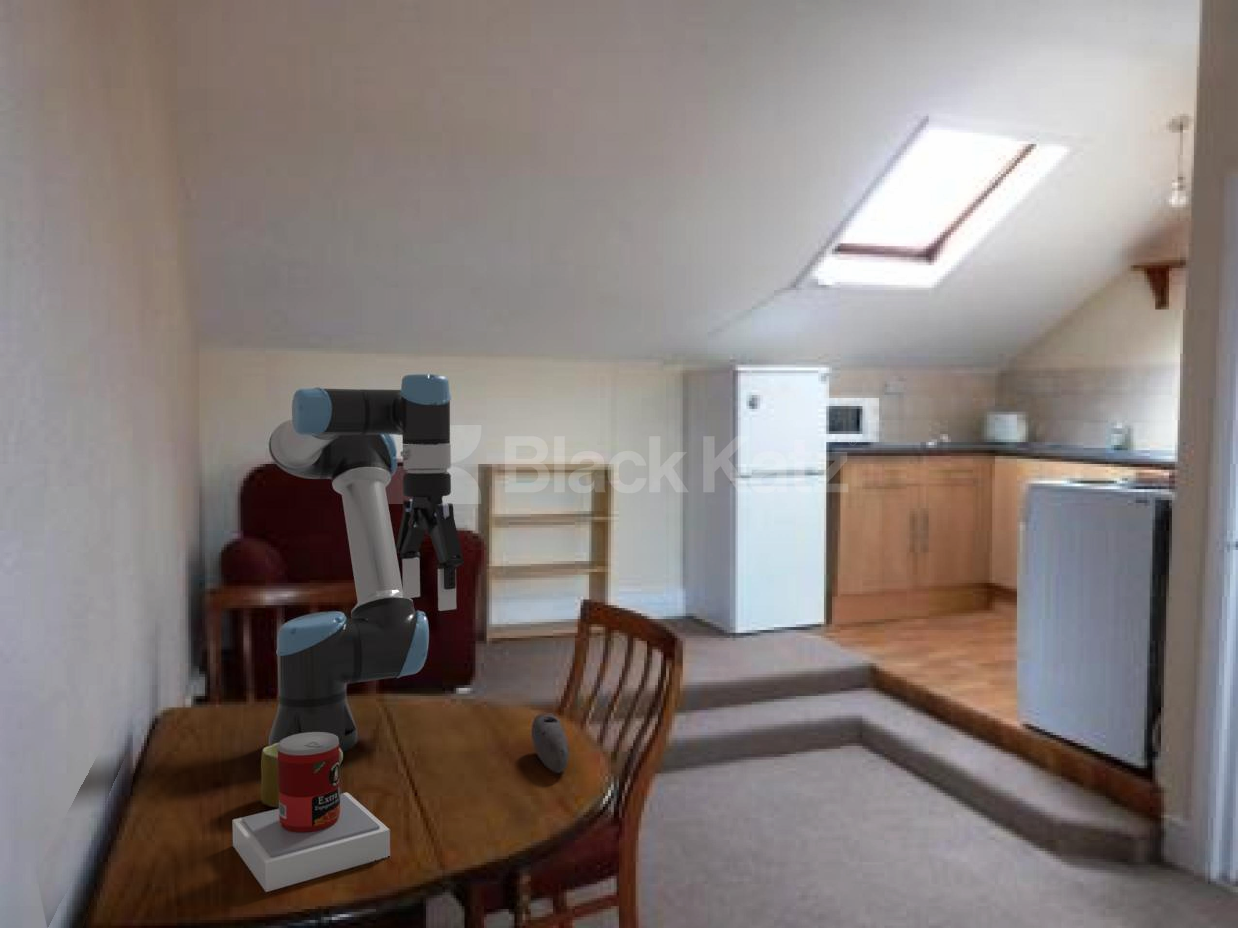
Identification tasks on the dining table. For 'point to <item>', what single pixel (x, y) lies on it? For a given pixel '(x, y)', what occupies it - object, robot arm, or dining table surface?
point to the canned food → (309, 781)
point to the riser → (309, 845)
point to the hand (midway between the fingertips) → (428, 603)
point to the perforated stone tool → (550, 742)
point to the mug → (272, 775)
